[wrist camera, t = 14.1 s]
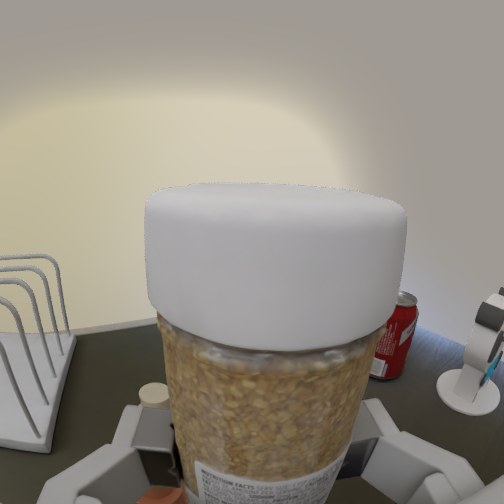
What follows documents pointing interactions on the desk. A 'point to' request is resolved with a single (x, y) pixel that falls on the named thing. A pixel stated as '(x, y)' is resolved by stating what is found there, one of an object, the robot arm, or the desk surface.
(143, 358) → the desk surface
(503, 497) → the robot arm
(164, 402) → the cream bottle
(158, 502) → the terracotta bottle
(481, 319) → the panda figurine
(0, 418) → the file sorter
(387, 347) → the soda can
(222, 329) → the sprinkles bottle
